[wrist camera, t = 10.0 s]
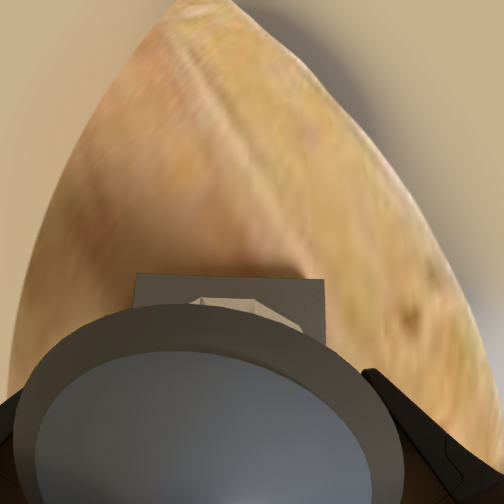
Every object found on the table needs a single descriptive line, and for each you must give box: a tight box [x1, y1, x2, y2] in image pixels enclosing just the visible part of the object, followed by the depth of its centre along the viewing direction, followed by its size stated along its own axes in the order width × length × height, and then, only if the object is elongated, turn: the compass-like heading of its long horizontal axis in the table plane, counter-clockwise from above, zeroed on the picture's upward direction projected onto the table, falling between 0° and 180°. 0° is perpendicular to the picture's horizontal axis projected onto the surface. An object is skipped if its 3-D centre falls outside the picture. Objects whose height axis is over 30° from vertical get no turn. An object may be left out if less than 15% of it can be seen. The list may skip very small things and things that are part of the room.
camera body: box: [133, 273, 326, 346], centre depth 16 cm, size 13×11×4 cm
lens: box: [13, 304, 404, 504], centre depth 9 cm, size 6×6×13 cm
